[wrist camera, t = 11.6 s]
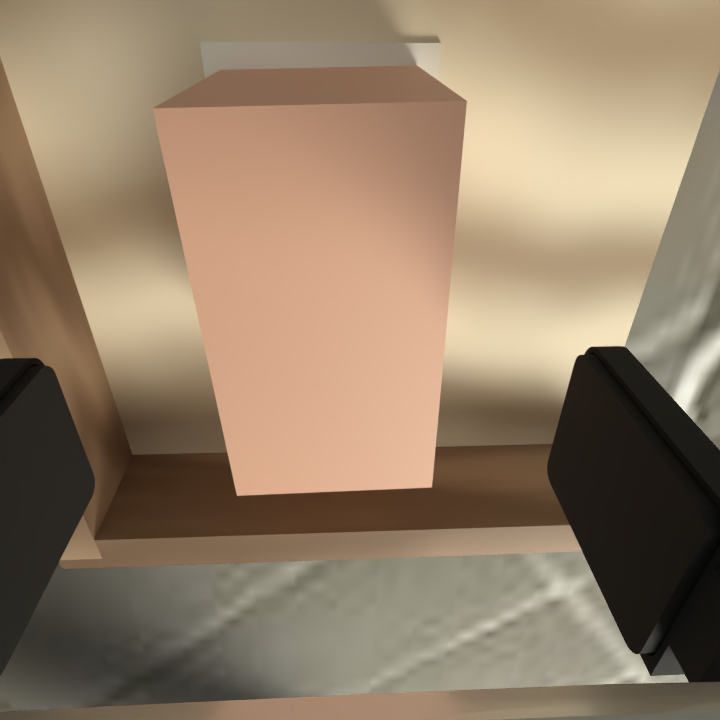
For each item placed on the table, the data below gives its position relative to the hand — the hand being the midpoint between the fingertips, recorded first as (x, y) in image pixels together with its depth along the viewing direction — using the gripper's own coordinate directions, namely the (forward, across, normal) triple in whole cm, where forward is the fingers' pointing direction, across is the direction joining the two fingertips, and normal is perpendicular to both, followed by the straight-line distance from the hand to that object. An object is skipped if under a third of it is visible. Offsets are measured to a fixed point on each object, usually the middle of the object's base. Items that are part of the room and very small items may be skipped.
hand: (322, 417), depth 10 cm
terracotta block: (+8, 0, -1) cm, 8 cm away
